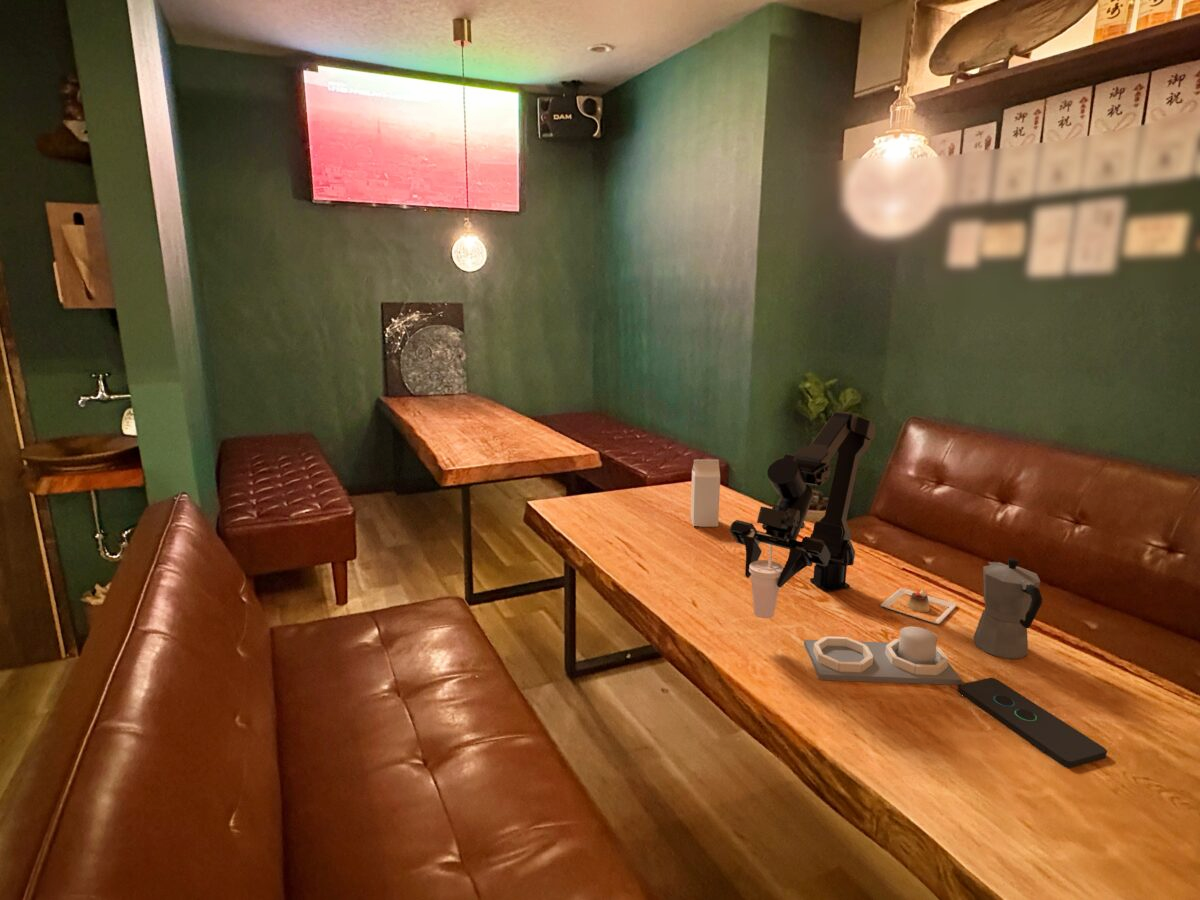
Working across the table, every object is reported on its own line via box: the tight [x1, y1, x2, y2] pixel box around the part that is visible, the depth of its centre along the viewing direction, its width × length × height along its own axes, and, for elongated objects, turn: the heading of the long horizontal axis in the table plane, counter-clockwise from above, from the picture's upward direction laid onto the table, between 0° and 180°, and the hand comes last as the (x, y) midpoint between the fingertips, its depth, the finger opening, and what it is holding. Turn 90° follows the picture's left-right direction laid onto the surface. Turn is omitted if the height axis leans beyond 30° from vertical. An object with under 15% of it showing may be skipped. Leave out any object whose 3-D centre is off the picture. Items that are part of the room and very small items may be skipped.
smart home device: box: [957, 677, 1108, 769], centre depth 106 cm, size 8×2×20 cm
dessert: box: [879, 587, 959, 625], centre depth 143 cm, size 12×12×5 cm
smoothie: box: [749, 544, 784, 619], centre depth 127 cm, size 6×6×14 cm
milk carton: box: [690, 459, 721, 528], centre depth 193 cm, size 7×7×19 cm
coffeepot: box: [973, 557, 1043, 660], centre depth 125 cm, size 15×9×18 cm, turn 0°
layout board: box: [803, 626, 963, 686], centre depth 122 cm, size 24×12×6 cm, turn 86°
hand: (762, 581), depth 126 cm, fingers closed on smoothie, 6 cm apart
